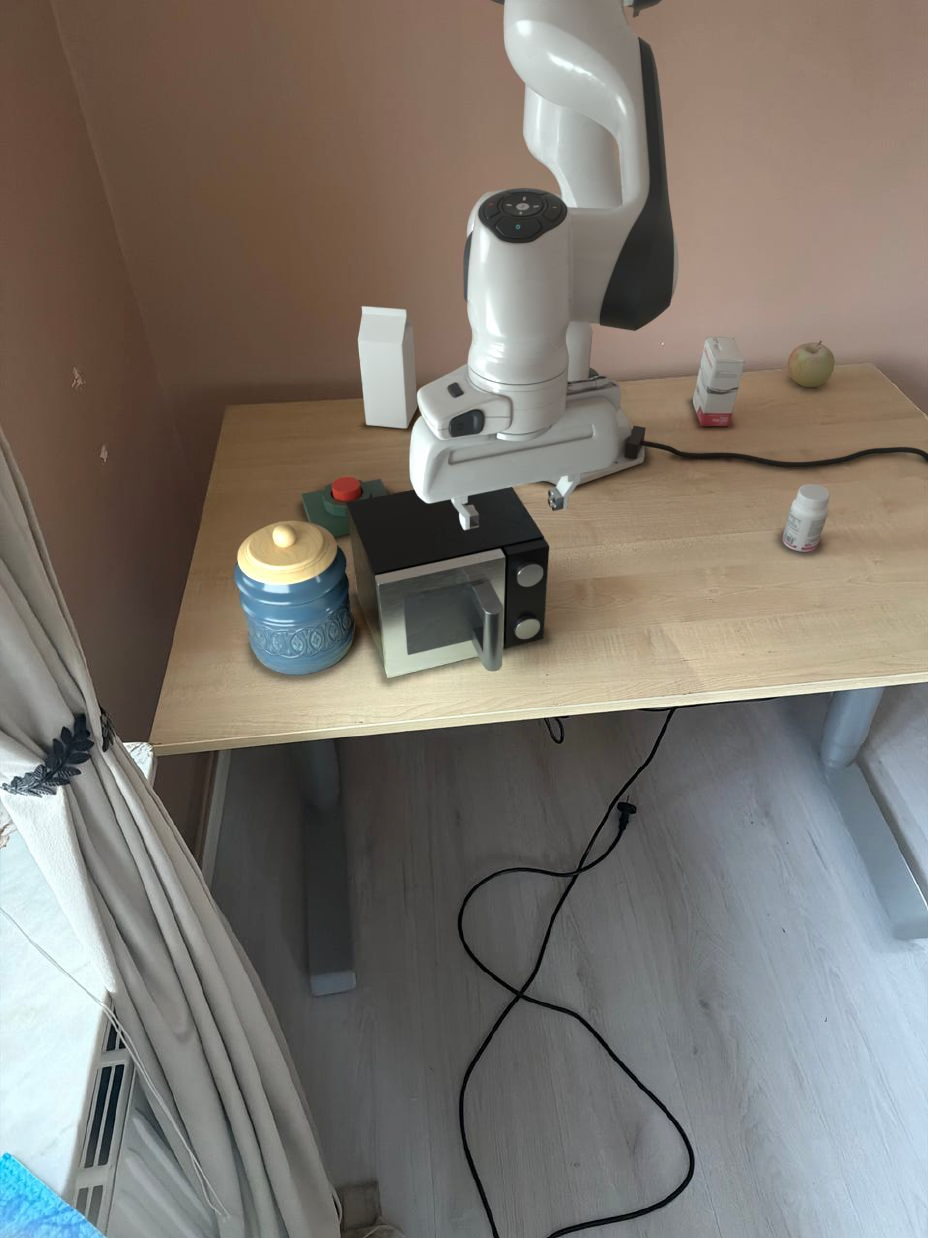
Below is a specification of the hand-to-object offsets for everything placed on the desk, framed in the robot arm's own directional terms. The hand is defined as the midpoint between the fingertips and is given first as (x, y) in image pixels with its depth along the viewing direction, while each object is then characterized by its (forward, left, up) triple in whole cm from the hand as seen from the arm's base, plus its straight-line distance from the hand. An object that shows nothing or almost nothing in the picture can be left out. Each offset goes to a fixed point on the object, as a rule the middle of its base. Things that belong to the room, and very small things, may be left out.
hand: (513, 516), depth 90 cm
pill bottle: (-47, -12, -24) cm, 55 cm away
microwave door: (+6, -3, -24) cm, 25 cm away
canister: (+22, -15, -24) cm, 36 cm away
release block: (+11, -39, -24) cm, 47 cm away
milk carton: (-2, -64, -24) cm, 68 cm away
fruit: (-74, -51, -24) cm, 93 cm away
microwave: (+4, -13, -24) cm, 27 cm away
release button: (+11, -39, -21) cm, 45 cm away
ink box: (-53, -47, -24) cm, 75 cm away
